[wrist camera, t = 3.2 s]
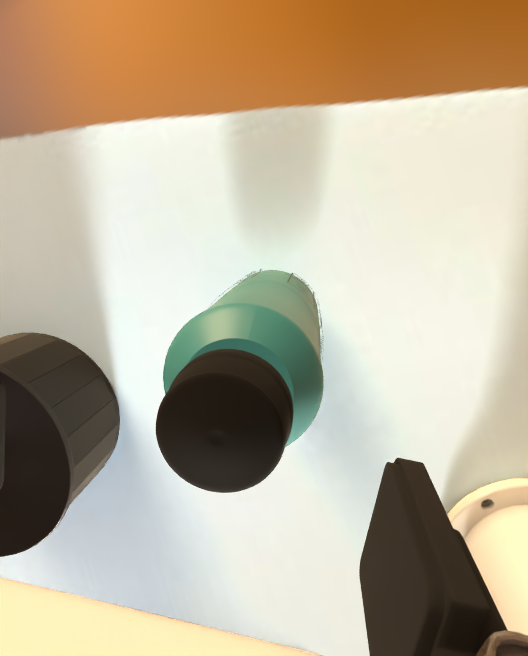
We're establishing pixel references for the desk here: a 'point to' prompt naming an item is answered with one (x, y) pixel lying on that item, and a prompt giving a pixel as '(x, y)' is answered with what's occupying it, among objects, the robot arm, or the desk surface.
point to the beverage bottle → (241, 383)
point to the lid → (32, 469)
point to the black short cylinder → (68, 396)
